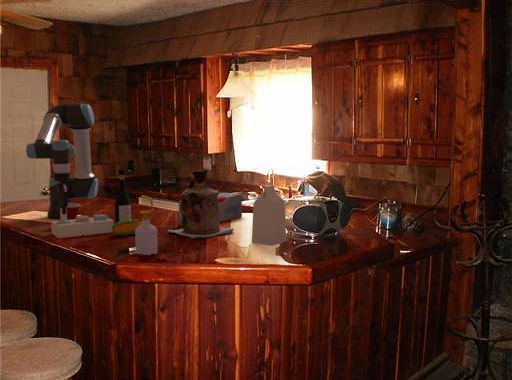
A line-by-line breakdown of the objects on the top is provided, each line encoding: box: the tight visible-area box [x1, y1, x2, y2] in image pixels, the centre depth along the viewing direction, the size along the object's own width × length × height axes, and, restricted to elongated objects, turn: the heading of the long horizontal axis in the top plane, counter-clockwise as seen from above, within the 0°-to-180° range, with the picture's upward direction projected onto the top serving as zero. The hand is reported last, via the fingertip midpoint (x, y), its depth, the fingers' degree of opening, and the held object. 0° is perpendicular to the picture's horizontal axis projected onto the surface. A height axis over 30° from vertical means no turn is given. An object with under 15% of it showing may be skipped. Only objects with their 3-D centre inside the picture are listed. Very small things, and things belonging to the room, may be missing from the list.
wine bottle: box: [114, 168, 132, 224], centre depth 297 cm, size 8×8×30 cm
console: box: [50, 217, 115, 239], centre depth 280 cm, size 13×27×6 cm, turn 122°
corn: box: [112, 219, 142, 237], centre depth 277 cm, size 7×8×20 cm
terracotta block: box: [76, 215, 90, 222], centre depth 280 cm, size 5×5×5 cm
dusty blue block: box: [93, 213, 108, 221], centre depth 285 cm, size 5×5×5 cm
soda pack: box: [178, 192, 243, 227], centre depth 313 cm, size 41×13×14 cm, turn 144°
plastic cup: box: [59, 202, 81, 220], centre depth 296 cm, size 11×11×12 cm
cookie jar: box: [167, 168, 235, 240], centre depth 279 cm, size 25×25×32 cm
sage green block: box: [56, 220, 71, 224], centre depth 275 cm, size 5×5×5 cm
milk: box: [251, 184, 287, 247], centre depth 259 cm, size 12×12×26 cm
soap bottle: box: [134, 194, 159, 256], centre depth 237 cm, size 9×9×25 cm
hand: (63, 220), depth 275 cm, fingers closed
